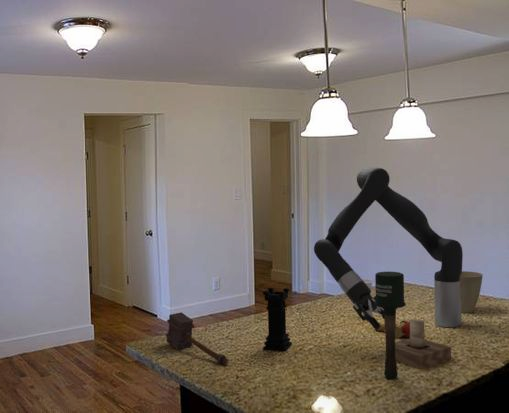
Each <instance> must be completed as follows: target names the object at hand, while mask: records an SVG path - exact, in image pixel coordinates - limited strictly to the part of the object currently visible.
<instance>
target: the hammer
mask: <svg viewBox="0 0 509 413" xmlns="http://www.w3.org/2000/svg"><path fill="white" fill-rule="evenodd" d="M193 322H194V320H193V319H192V318H191V317H189V316H187V315H186V314H185V313H183V312H182V311H181V312H176V313H170V314H169V318H168V319H166V323H168V331H167V333H165V337H166V342H167V343H168V344H169V345H170V346H171V347H173V348H174V349H175V350H181V349H185V348H189V347H193V345H194V346H195V347H197V348H198V349H200V350H201V351H203V352H204V353H205V354H207V355H209V356H210V357H211V358H213V359H215V361H216V362H217V363H218V364H219V365H224V366H228V365H229V359H228V358H227V356H226V355H225V354H222V353H217V352H215V351H213V350H211V349H210V348H208V347H207V346H206V345H204V344H202V343H201V342H199V341H198V340H196V339H195V338H194V337H192V336H193V329H194V328H195V324H193Z"/></svg>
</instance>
